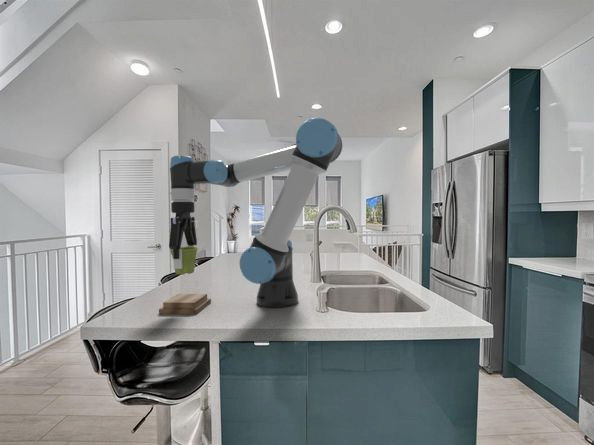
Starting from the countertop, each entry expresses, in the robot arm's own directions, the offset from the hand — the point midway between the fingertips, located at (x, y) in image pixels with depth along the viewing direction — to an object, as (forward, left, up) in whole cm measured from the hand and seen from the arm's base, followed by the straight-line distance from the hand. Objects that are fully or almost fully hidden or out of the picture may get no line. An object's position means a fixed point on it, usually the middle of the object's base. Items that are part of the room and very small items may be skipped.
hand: (184, 265), depth 110 cm
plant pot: (0, 0, -3) cm, 3 cm away
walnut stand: (0, 0, -15) cm, 15 cm away
